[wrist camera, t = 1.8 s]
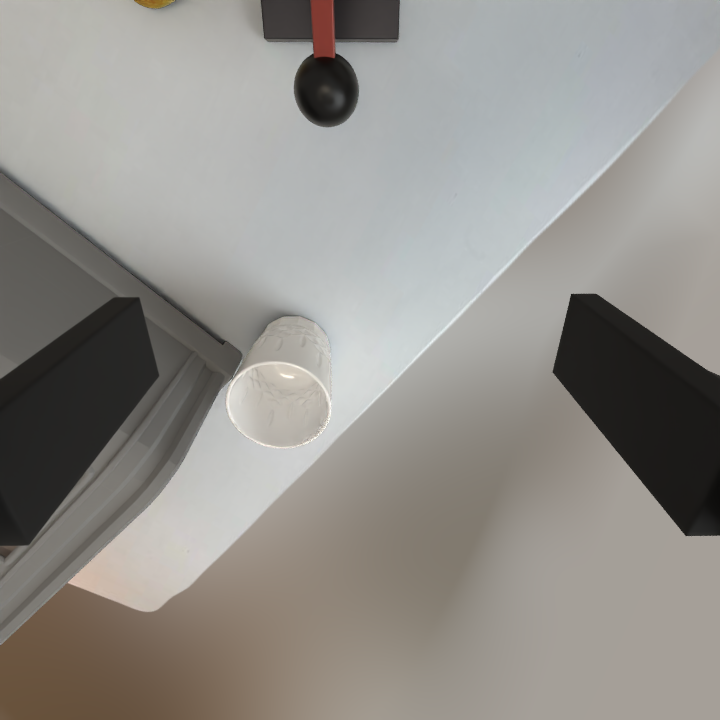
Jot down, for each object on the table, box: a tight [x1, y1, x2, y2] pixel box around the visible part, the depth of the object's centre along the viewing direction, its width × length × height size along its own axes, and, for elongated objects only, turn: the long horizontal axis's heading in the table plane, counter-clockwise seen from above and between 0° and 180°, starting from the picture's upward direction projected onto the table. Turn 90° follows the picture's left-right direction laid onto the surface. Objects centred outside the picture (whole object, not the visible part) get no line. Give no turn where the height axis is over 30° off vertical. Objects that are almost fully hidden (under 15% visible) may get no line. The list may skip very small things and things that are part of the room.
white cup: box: [225, 316, 332, 449], centre depth 37 cm, size 8×8×10 cm
